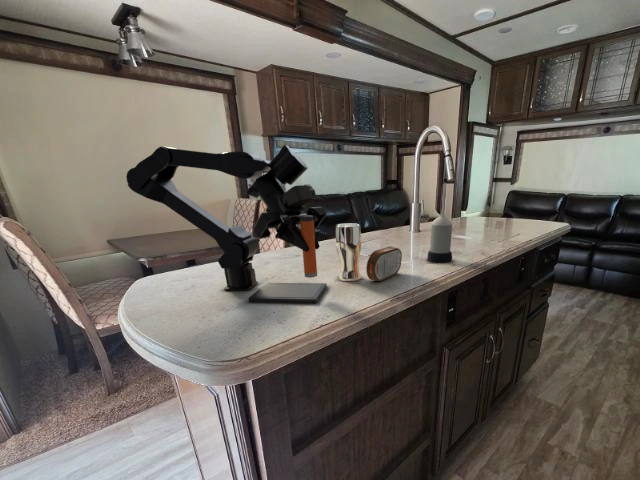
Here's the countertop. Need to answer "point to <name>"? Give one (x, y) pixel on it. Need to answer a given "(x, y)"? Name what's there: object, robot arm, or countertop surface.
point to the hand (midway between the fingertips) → (313, 249)
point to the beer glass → (348, 250)
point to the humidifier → (441, 237)
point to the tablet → (289, 293)
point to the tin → (384, 263)
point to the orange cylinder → (309, 238)
